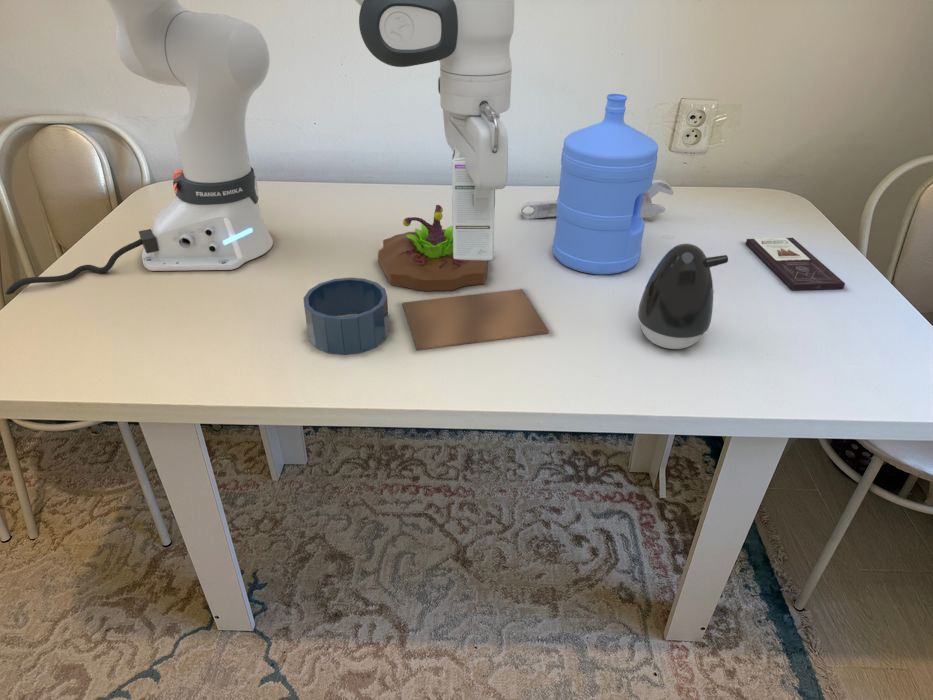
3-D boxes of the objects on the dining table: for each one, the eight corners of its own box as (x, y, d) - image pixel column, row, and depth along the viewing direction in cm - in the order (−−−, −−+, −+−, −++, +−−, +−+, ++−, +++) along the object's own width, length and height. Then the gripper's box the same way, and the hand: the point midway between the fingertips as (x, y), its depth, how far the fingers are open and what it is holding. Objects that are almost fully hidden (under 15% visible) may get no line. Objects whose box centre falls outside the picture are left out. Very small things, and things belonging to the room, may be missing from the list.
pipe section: (310, 359, 93) (305, 323, 90) (307, 316, 102) (302, 282, 99) (394, 348, 95) (392, 313, 92) (383, 307, 105) (380, 274, 101)
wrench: (522, 228, 137) (669, 216, 135) (522, 232, 136) (671, 219, 133) (519, 191, 133) (672, 177, 130) (519, 194, 131) (674, 181, 129)
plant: (381, 295, 108) (377, 232, 102) (376, 244, 124) (372, 186, 117) (502, 288, 110) (505, 225, 104) (482, 238, 126) (483, 181, 120)
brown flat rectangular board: (416, 350, 95) (416, 347, 95) (402, 305, 106) (402, 302, 105) (548, 333, 99) (548, 330, 99) (522, 291, 110) (522, 289, 109)
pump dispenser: (706, 364, 93) (732, 267, 84) (631, 352, 95) (649, 256, 87) (705, 326, 101) (728, 235, 93) (636, 316, 103) (652, 226, 95)
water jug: (568, 280, 113) (587, 111, 97) (541, 241, 126) (554, 86, 110) (653, 272, 116) (685, 107, 100) (618, 235, 128) (642, 82, 112)
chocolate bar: (793, 285, 110) (746, 238, 125) (792, 290, 111) (745, 243, 125) (845, 283, 111) (792, 237, 126) (843, 288, 111) (791, 242, 126)
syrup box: (493, 261, 93) (497, 159, 85) (451, 260, 93) (451, 158, 85) (493, 243, 98) (497, 145, 90) (453, 242, 98) (453, 144, 90)
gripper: (524, 113, 75) (517, 226, 83) (479, 74, 92) (477, 171, 100) (470, 116, 74) (468, 230, 82) (435, 75, 91) (436, 174, 98)
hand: (473, 198), depth 91 cm, fingers closed on syrup box, 6 cm apart
